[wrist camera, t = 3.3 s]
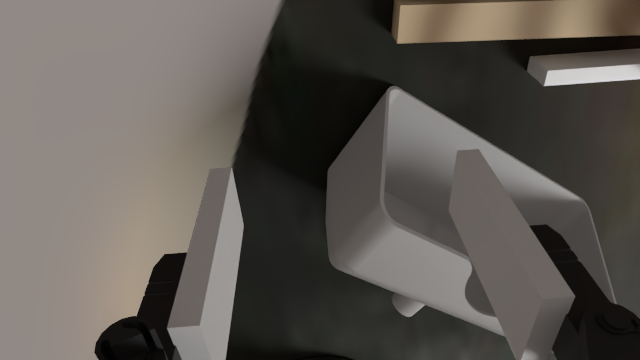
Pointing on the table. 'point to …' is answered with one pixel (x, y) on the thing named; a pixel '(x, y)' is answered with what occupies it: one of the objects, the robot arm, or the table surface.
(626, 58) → the white blocky frame
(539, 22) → the rod
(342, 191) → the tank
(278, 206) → the table surface
